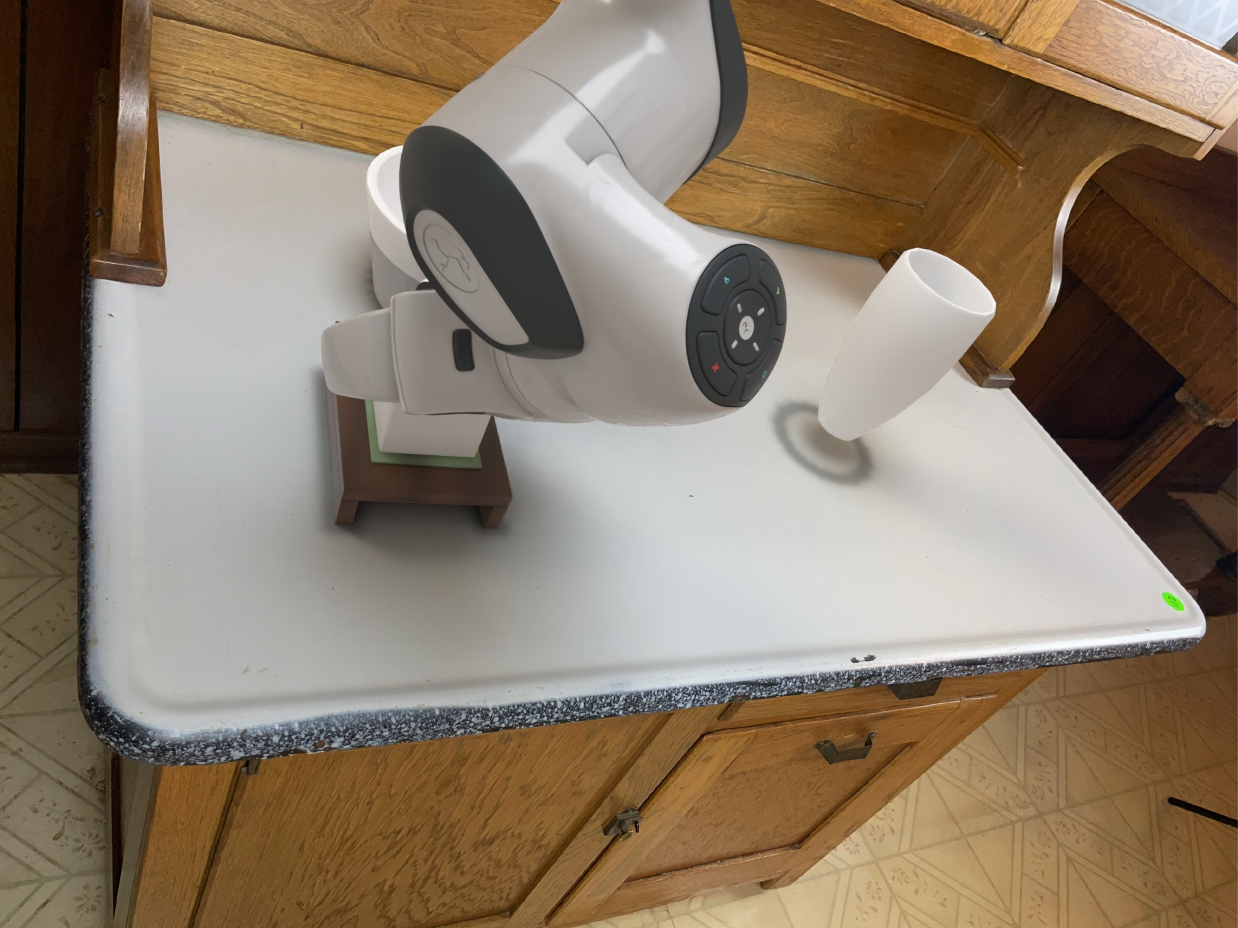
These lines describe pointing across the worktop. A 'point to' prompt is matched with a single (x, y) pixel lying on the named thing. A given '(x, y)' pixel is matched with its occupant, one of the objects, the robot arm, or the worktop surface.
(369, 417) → the shelf
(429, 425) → the medicine bottle
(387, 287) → the bowl
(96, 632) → the worktop surface
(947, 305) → the cup
